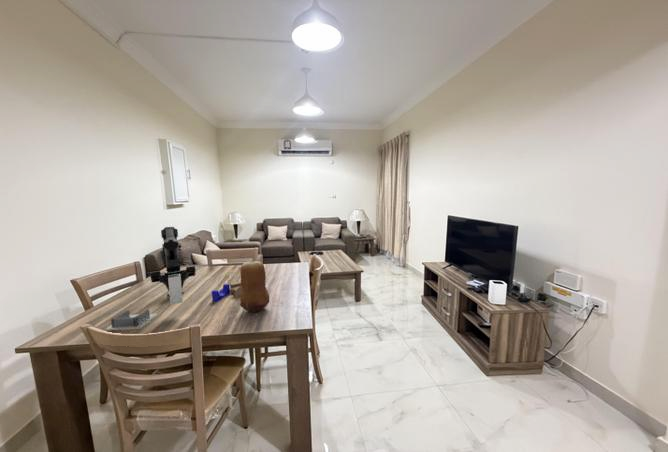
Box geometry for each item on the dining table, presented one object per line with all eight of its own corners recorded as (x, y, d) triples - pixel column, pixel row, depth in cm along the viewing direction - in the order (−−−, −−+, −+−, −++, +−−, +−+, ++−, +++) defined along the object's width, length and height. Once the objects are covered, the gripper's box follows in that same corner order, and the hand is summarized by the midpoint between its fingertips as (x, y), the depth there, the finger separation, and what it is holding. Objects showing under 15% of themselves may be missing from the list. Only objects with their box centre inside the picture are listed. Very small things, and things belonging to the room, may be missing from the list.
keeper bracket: (128, 316, 127) (127, 307, 126) (157, 315, 127) (157, 306, 127) (106, 330, 114) (105, 320, 113) (139, 328, 115) (138, 319, 114)
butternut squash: (261, 302, 140) (258, 256, 138) (274, 310, 131) (272, 261, 128) (236, 311, 131) (232, 261, 128) (248, 319, 121) (245, 266, 118)
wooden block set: (228, 281, 161) (257, 276, 170) (228, 290, 162) (258, 285, 171) (233, 289, 146) (265, 283, 155) (233, 299, 147) (265, 292, 156)
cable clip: (223, 293, 156) (222, 283, 155) (229, 293, 155) (229, 284, 154) (210, 301, 144) (209, 291, 143) (217, 301, 143) (216, 291, 142)
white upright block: (170, 301, 128) (168, 275, 126) (182, 298, 130) (180, 273, 129) (170, 304, 123) (168, 277, 122) (182, 302, 126) (180, 276, 124)
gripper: (148, 255, 122) (149, 284, 114) (193, 250, 132) (197, 277, 124) (151, 268, 130) (152, 296, 122) (193, 262, 140) (197, 288, 132)
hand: (175, 289), depth 125 cm, fingers closed on white upright block, 5 cm apart
